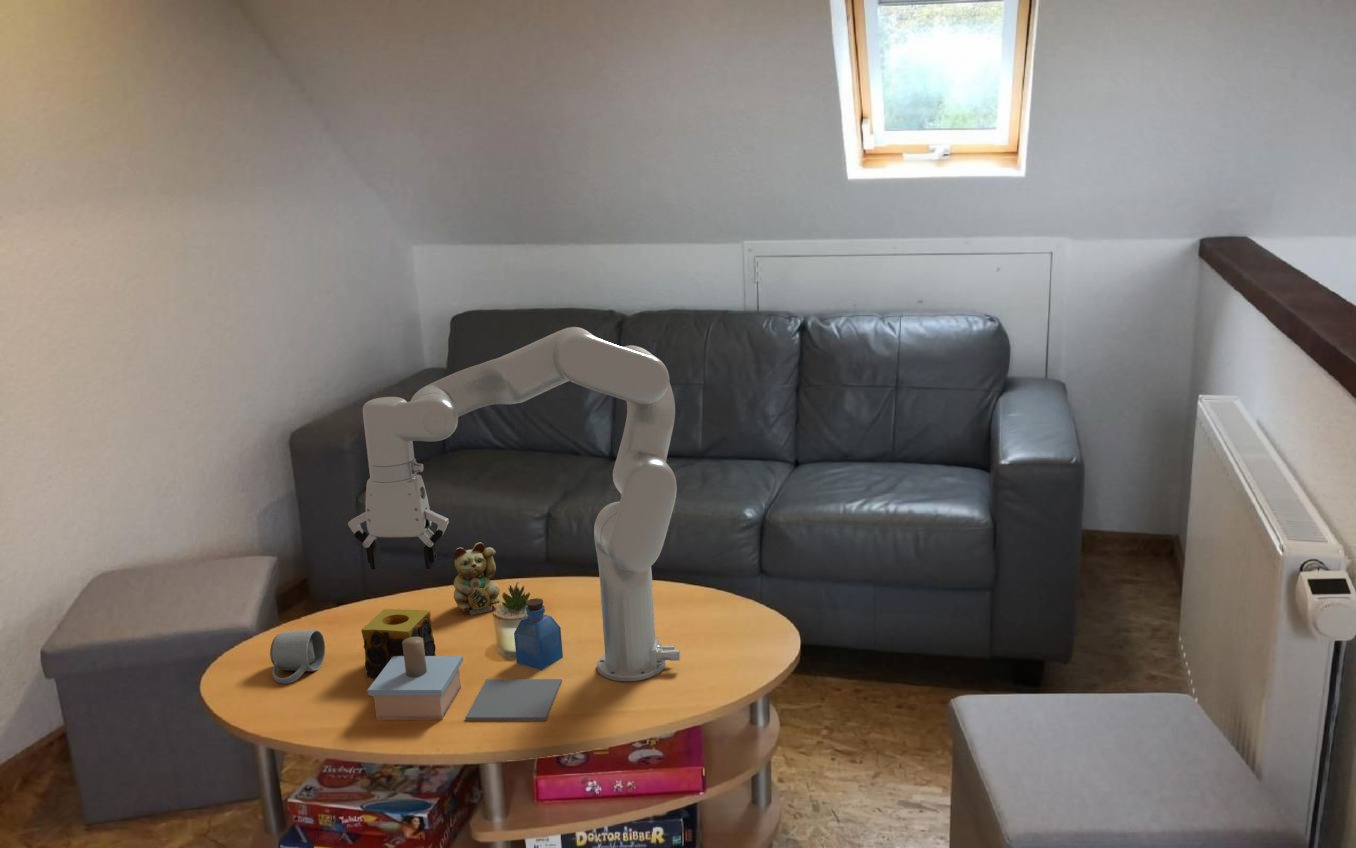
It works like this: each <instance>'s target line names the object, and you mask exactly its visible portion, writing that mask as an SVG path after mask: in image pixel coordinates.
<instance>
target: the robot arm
mask: <svg viewBox="0 0 1356 848" xmlns="http://www.w3.org/2000/svg"><path fill="white" fill-rule="evenodd" d="M567 382H571V383H574V384H576V385H578V386H581V387H584V388H586V389H588V390H589V389H590V390H591V391H595V392H597V393H601V394H604V395H607V396H611V397H614V398H617V399H620V400H623V401H625V402H626V411H627V412H626V420H625V425H624V429H623V433H622V438H621V441H620V445H619V448H618V452H617V457H616V459H615V462H614V466H613V470H612V481H613V483H614V486H615V488H616V489H617V491H618V492H619V494H620V500H619V501H614V502H611V503H608V504H606V506H604V507H603V508H602V509H601V510H600V511H599V513H598V514H597V516H596V519H595V521H594V527H593V533H594V534H593V535H594V536H593V537H594V545H595V551H596V557H597V558H596V559H597V564H598V565H597V566H598V572H599V573H598V574H599V586H600V600H601V601H600V603H601V604H600V605H601V615H602V618H601V619H602V629H603V630H602V631H603V644H604V645H603V646H604V654H602V656H600V658H599V659H598V661H597V664H596V665H597V666H596V667H597V671H598V673H599V674H600V675H601V676H603V677H604V678H606V679H609V680H612V681H617V682H637V681H638V682H639V681H643V680H646V679H650V678H652V677H655V676H656V675H658V674H659V673H660V674H661V672H662V671H663V670H664V669H665V667H666V661H677V662H678V661H679V662H680V660H681V650H680V649H676V647H675V645H663V644H660V638H659V637H656V626H655V623H656V622H655V608H654V594H653V592H654V589H653V587H654V586H653V574H652V566H653V565H654V564H655V562H656V561H657V560H658V558H659V557H660V554H661V552H662V550H663V547H664V544H665V539H666V536H667V533H668V530H669V526H670V522H671V519H672V514H673V510H674V507H675V503H676V499H677V490H678V487H677V478H676V475H675V473H674V471H673V469H672V468H671V467H670V466H669V464H668V463H667V460H668V453H669V449H670V445H671V440H672V435H673V430H674V425H675V420H676V419H675V418H676V404H675V403H676V402H675V396H674V392H673V389H672V385H671V383H670V374H669V370H668V368H667V367H666V365H665V363H664V362H663V361H662V360H661V359H659V358H658V357H656V355H653V354H652V353H651V352H650V351H648V350H647V349H645V348H643V347H641V346H637V345H625V346H620V345H617V344H614V343H612V342H610V341H607V340H604V339H602V338H599V337H597V336H595V335H593V334H592V333H591V332H590V331H588V330H586V329H584V328H582V327H577V326H570V327H566V328H563V329H560V330H558V331H556V332H554V333H551V334H548V335H547V336H544V337H542V338H540V339H538V340H535V341H533V342H531V343H530V344H527V345H525V346H523V347H520V348H518V349H515V350H514V351H511V352H509V353H507V354H504V355H502V356H500V357H497V358H494V359H491V360H490V359H489V360H488V361H484V362H482V363H478V364H475V365H473V366H469V367H467V368H464V369H461V370H459V371H456V372H454V373H452V374H449V375H447V376H444V377H443V378H440V379H438V380H436V381H433V382H431V383H429V384H427V385H425V386H423V387H421V388H420V389H418V390H417V392H415V393H414V395H413V396H412V397H411V399H410V401H407V400H406V399H404V398H402V397H398V396H383V397H377V398H373V399H370V400H368V401H367V402H365V403H364V404H363V407H362V417H363V419H362V420H363V426H364V435H365V444H366V454H367V461H368V469H369V478H368V479H367V481H366V490H365V512H362V513H361V514H359V515H357V516H355V517H354V518H352V519H351V520H350V521H348V523H347V525H348V527H349V529H350V530H351V532H352V533H353V534H354V537H355V538H356V539H357V540H358V541H359V542H360V543H362V546H363V548H365V549H366V556H367V563H368V564H369V565H370V566H369V567H370V570H372V571H374V570H376V569H377V568H378V567H379V566H380V565H381V563H382V560H381V550H380V543H379V542H378V541H377V538H416V537H418V538H419V540H421V541H422V543H423V544H425V546H424V547H423V557H424V565H425V566H424V567H425V569H426V570H431V569H432V568H433V567H434V565H435V564H436V563H437V560H438V554H437V546H436V545H437V544H436V543H437V542H438V540H439V539H441V537H442V536H443V535H444V534H445V533H446V532H445V531H446V529H447V527H448V525H449V523H450V520H449V518H448V517H446V516H443V515H441V514H439V513H436V512H435V511H433V510H430V504H429V498H428V494H427V490H426V487H425V483H424V479H423V478H422V477H423V476H422V475H421V474H418V473H419V472H420V473H422V472H423V471H424V468H425V467H424V464H423V463H419V462H417V458H415V452H414V451H415V450H414V442H441V441H443V440H446V439H448V438H450V437H451V436H452V434H454V432H456V430H457V428H458V423H459V417H461V416H464V415H466V414H468V413H470V412H473V411H475V410H478V409H481V408H484V407H488V406H493V405H513V404H514V405H515V404H521V403H524V402H526V401H529V400H531V399H533V398H535V397H536V396H539V395H541V394H543V393H545V392H548V391H550V390H551V389H554V388H556V387H559V386H561V385H563V384H564V383H567ZM413 441H414V442H413ZM364 522H366V529H367V531H366V530H365V529H363V528H362V525H361V524H362V523H364ZM432 523H433V524H434V523H435V524H436V525H437V528H436V531H434V532H433V530H431V529H430V527H431V526H432Z"/></svg>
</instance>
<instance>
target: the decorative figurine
mask: <svg viewBox="0 0 1356 848" xmlns="http://www.w3.org/2000/svg"><path fill="white" fill-rule="evenodd" d="M496 552H497V551H496V550H495V549H494V548H493V547H491V546H490V547H486V546H485V545H484V543H482V542H476V543H475V544H474V546H473V548H472V549H467V550H466V549H464V547H457V548H456V549H455V551H454V567H455V569H456V571H457V573H458V575H456V577H455V578H454V580H453V587H454V591H453V600H454V601H455V603H456V605H457V607H458V608H459V609H460V611H463V612H464V611H468V614H469V615H471V616H473V615H479V614H484V613H487V612H491V611H493V606H494V605H496V604H500V602H501V599H500V596H499V594H500V591H501V590H500V588H501V587H500V586H499V585H498V583H496V582H492V581H491V579H492V578H493V577H494V575H495V573H496V572H497V567H496V566H497V565H496V562H495V559H494V556H495V555H496Z"/></svg>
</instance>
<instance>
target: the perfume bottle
mask: <svg viewBox="0 0 1356 848" xmlns="http://www.w3.org/2000/svg"><path fill="white" fill-rule="evenodd" d="M526 605H527V606H526V607H525V610H526V615H527V616H526V617H523V618H522V619H521V620H520V621H519V624H518V625H517V626H516V629H515V631H514V632H513V634H514V635H513V636H514V645H515V646H514V647H515V648H514V649H515V658H516V664H518V665H521V666H524V667H525V666H526V667H528V668H532V669H536V670H540V671H543V670H545V669H546V668H548V667H550V666H551V665H553V664H555V663H556V662H558V661H560V660H561V659H563V658H564V652H563V644H562V643H563V641H562V640H563V639H562V631H561V630H562V629H561V628H562V627H561V626H560V625H559V624H558V623H557V622H556V620H555V619H554V618H553V617H552V616H551V615H548V614H545V612H546V610H545V605H544V599H542V598H538V597H537V598H530V599H528V600H526Z"/></svg>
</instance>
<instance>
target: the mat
mask: <svg viewBox="0 0 1356 848" xmlns="http://www.w3.org/2000/svg"><path fill="white" fill-rule="evenodd" d="M562 683H563V679H562V678H533V679H531V678H517V679H516V678H513V679H512V678H509V679H508V678H501V679H500V678H499V679H498V678H494V679H493V678H492V679H491V678H489V679H485V681H484V683H483V684H482V687H481V688H480V690H479V692H478V694H477V696H476V697H475V699H474V701H473V703H472V704H471V706H470V708H469V710H468V711H467V714H466V715H465V721H472V722H473V721H477V722H478V721H498V722H499V721H500V722H501V721H504V722H505V721H511V722H512V721H515V722H516V721H517V722H518V721H525V722H527V721H536V722H537V721H540V722H541V721H544V722H545V721H547V719H548V717H549V714H550V713H551V710H552V707H553V705H554V702H555V700H556V698H557V695H558V693H559V690H560V689H561V685H562Z"/></svg>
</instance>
